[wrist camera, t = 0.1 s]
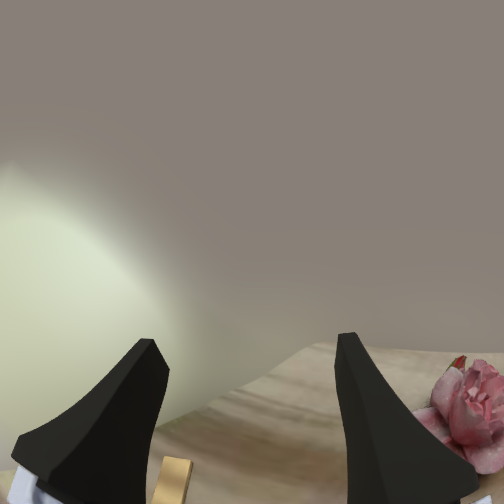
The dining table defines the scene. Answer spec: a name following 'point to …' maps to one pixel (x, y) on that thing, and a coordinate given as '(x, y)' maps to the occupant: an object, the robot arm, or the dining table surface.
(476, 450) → the flower
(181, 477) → the spatula
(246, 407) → the dining table surface
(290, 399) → the dining table surface
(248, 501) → the dining table surface
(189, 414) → the dining table surface
